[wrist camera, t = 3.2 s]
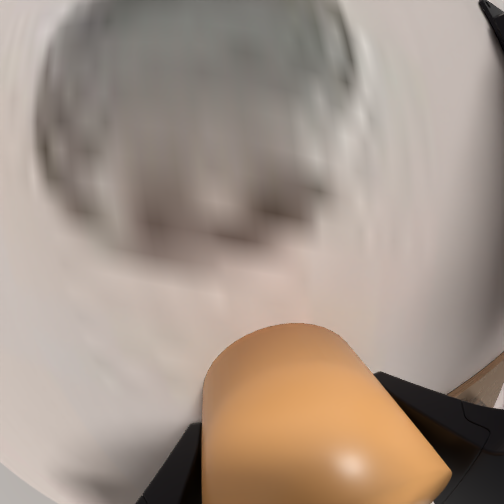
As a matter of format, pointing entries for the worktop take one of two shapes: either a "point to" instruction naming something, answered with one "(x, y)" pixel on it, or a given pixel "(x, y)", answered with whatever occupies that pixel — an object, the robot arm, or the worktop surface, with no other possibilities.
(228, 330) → the worktop surface
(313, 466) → the cap
